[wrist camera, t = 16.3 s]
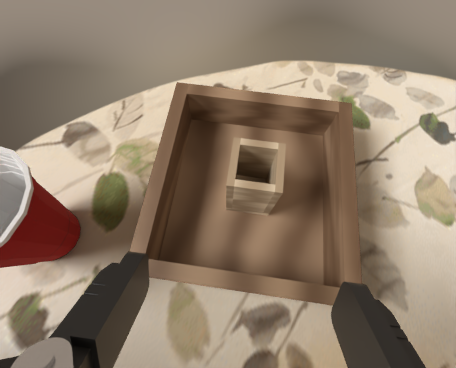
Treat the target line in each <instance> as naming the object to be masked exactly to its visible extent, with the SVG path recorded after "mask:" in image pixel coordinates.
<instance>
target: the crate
mask: <svg viewBox="0 0 456 368" xmlns="http://www.w3.org/2000/svg"><path fill="white" fill-rule="evenodd" d="M234 137H236V138H244V139H251V140H259V141H267V142H275V143H283V144H286V150H285V167H284V183H283V194H282V195H281V197H280V198H279V200H278V201H277V203H276V204H275V206H274V207H273V209H272V210H271V212H270V213H269V215H261V214H253V213H246V212H239V211H232V210H226V184H227V177H228V171H229V165H230V158H231V152H232V145H233V139H234ZM130 251H131V252H138V253H145V254H148V258H149V277H151V278H157V279H164V280H170V281H177V282H183V283H190V284H196V285H203V286H209V287H216V288H222V289H229V290H235V291H242V292H248V293H255V294H262V295H268V296H275V297H281V298H288V299H294V300H301V301H307V302H314V303H320V304H327V305H333V304H334V302H335V299H336V297H337V294H338V292H339V289H340V287H341V285H342V283H343V282H352V283H359V284H362V275H361V258H360V241H359V224H358V207H357V190H356V172H355V155H354V138H353V121H352V104H351V103H345V102H337V101H329V100H320V99H312V98H304V97H295V96H287V95H278V94H270V93H262V92H253V91H245V90H236V89H228V88H220V87H211V86H203V85H194V84H186V83H178V82H177V84H176V88H175V91H174V95H173V98H172V102H171V105H170V109H169V112H168V116H167V119H166V123H165V127H164V130H163V134H162V137H161V141H160V144H159V148H158V151H157V155H156V158H155V162H154V166H153V169H152V173H151V176H150V180H149V183H148V187H147V190H146V194H145V197H144V201H143V205H142V208H141V212H140V215H139V219H138V222H137V226H136V229H135V233H134V236H133V240H132V244H131V247H130Z"/></svg>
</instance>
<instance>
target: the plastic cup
mask: <svg viewBox="0 0 456 368" xmlns="http://www.w3.org/2000/svg"><path fill="white" fill-rule="evenodd" d="M79 236H80V225H79V222H78V219H77V218H76V217H75V216H74V215H73V214H72V213H71V212H70V211H69V210H68V209H67V208H65V207H64V206H63V205H62V204H61V203H60V202H59V201H58V200H57V199H56V198H55V197H53V196H52V195H51V194H50V193H49V192H48V191H46V190H45V189H44V188H43V187H42V186H41V185H39V184H38V183H37V182H36V180H35V179H34V178H33V177H32V175H31V172H30V168H29V166H28V165H27V164H26V163H25V162H24V161H23V160H22V159H21V158H20V157H19V156H18V155H17V154H16V153H15V151H13V150H10V149H6V148H3V147H0V268H2V267H10V266H19V265H27V264H35V263H38V262H44V261H52V260H55V259H58V258H60V257H62V256H64V255H66V254H67V253H68V252H69V251H70V250H72V249H73V248H74V247H75V245H76V243H77V241H78V239H79Z"/></svg>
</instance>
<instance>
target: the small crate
mask: <svg viewBox="0 0 456 368" xmlns="http://www.w3.org/2000/svg"><path fill="white" fill-rule="evenodd" d="M285 150H286V144H283V143H275V142H267V141H259V140H251V139H244V138H236V137H234V139H233V145H232V152H231V158H230V165H229V171H228V177H227V184H226V210H232V211H239V212H246V213H253V214H261V215H269V213H270V212H271V210H272V209H273V207H274V206H275V204H276V203H277V201H278V200H279V198H280V197H281V195H282V194H283V183H284V167H285Z"/></svg>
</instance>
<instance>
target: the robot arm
mask: <svg viewBox="0 0 456 368" xmlns="http://www.w3.org/2000/svg"><path fill="white" fill-rule="evenodd" d="M148 287H149V258H148V254H145V253H138V252H131V251H129V252H127V254H126V255H125V256H124V258H123V259H122V261H121V262H120V264H119V263H111V264H110V265H108V266H107V267H106V268H104V269H103V270H101V271H100V272H99V274H98V275H97V276H96V278H95V279H94V280H93V281H92V284H91V285H89V287H88V288H87V289H86V291H85V293H84V295H82V296H81V297H80V299H79V300H78V301H77V302H76V304H75V305H74V306H73V308H72V309H71V310H70V312H69V313H68V314H67V316H66V317H65V318H64V320H63V321H62V322H61V323H60V325H59V326H58V327H57V329H56V330H55V331H54V333H53V334H52V335H51V336H50V337H49V338H48V339H45V340H42V341H40V342H37V343H36V344H34V345H32V346H31V347H29V348H28V349H26V350H25V351H24V352H23V353H22V354H21V355H20V356H16V357H12V358H7V359H2V360H0V368H113V366H114V364H115V362H116V360H117V358H118V355H119V353H120V351H121V349H122V347H123V345H124V342H125V340H126V338H127V336H128V334H129V332H130V329H131V327H132V325H133V323H134V321H135V319H136V317H137V314H138V312H139V310H140V308H141V306H142V304H143V301H144V299H145V297H146V294H147V291H148ZM331 318H332V324H333V327H334V330H335V332H336V335H337V338H338V341H339V344H340V347H341V349H342V352H343V355H344V358H345V361H346V364H347V367H348V368H426V367H425V365H424V364H423V362H422V361H421V359H420V357H419V356H418V354H417V352H416V351H415V349H414V348H413V346H412V344H411V343H410V342H408V338H407V336H406V335H405V333H404V332H403V330H402V329H400V325H399V324H398V322H397V320H396V319H395V317H394V315H393V314H392V312H391V311H390V310H389V309H388V308H387V307H385V306H384V305H383V304H382V303H381V302H380V301H379V300H375V299H374V298H373V296H372V294H371V292H370V291H369V289H368V287H367V286H366V285H365V284H359V283H352V282H343V283H342V285H341V287H340V289H339V292H338V294H337V297H336V299H335V302H334V304H333V307H332V311H331Z"/></svg>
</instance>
